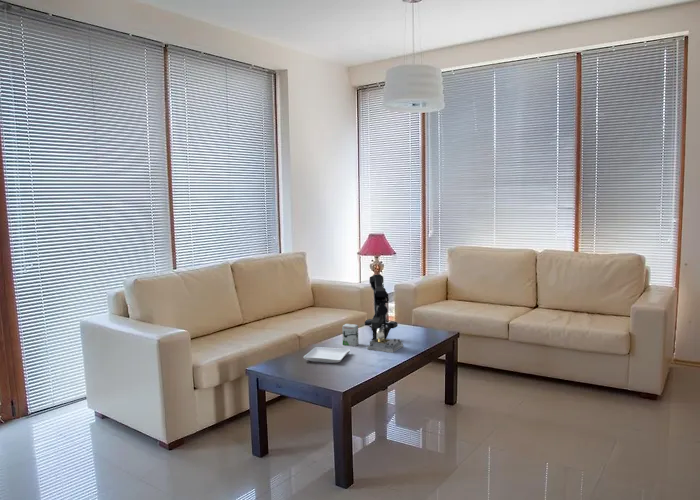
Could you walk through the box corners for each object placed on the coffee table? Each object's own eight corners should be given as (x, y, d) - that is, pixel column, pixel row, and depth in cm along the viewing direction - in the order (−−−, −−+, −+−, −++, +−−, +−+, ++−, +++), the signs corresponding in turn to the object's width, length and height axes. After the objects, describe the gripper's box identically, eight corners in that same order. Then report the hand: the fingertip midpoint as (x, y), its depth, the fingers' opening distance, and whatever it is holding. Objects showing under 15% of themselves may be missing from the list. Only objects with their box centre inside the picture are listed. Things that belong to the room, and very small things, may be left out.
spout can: (374, 341, 312) (374, 326, 312) (379, 339, 317) (378, 324, 316) (383, 342, 310) (383, 327, 309) (387, 340, 314) (387, 325, 314)
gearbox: (367, 349, 310) (367, 341, 310) (378, 343, 323) (378, 335, 322) (392, 352, 303) (392, 344, 302) (402, 346, 315) (402, 338, 314)
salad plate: (351, 354, 303) (351, 348, 303) (340, 365, 283) (340, 359, 282) (315, 352, 309) (315, 346, 308) (302, 363, 288) (302, 357, 288)
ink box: (342, 345, 321) (341, 325, 320) (345, 342, 326) (344, 323, 324) (355, 346, 318) (355, 326, 317) (358, 344, 322) (358, 324, 321)
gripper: (359, 313, 309) (360, 339, 311) (389, 316, 300) (389, 343, 302) (368, 309, 319) (369, 335, 321) (397, 312, 310) (398, 338, 311)
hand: (381, 338), depth 313 cm, fingers closed on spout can, 5 cm apart
